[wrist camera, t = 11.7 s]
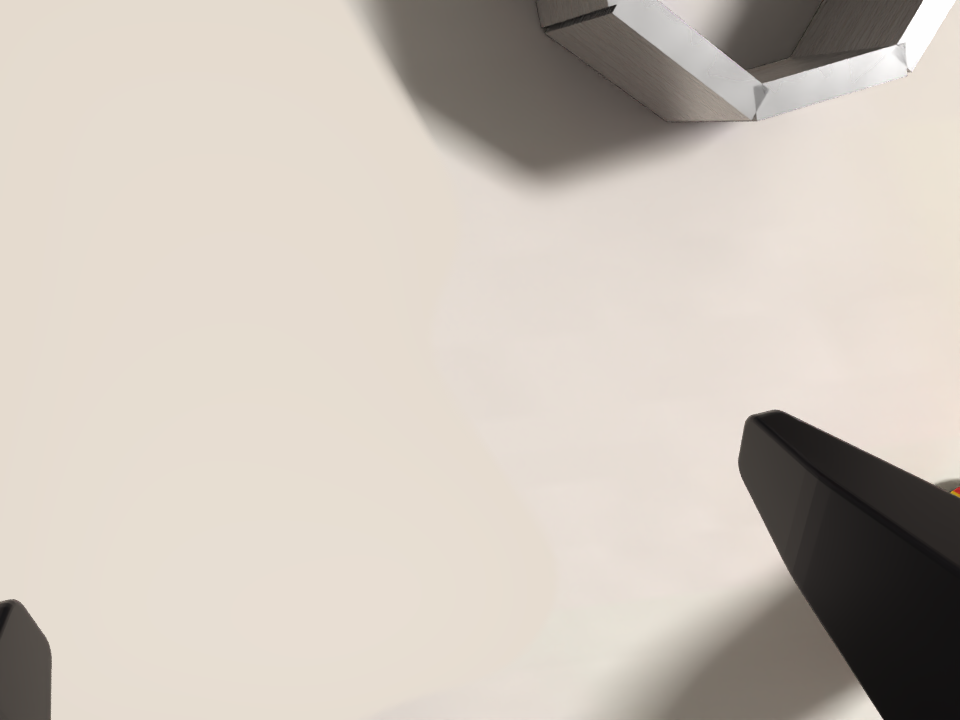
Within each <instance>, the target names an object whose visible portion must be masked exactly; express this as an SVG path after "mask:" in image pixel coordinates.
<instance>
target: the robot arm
mask: <svg viewBox="0 0 960 720" xmlns="http://www.w3.org/2000/svg"><path fill="white" fill-rule="evenodd" d="M738 465H739V471H740V474H741V477H742V479H743V481H744V483H745V485H746V487H747V489H748V491H749V493H750V495H751V497H752V499H753V501H754V503H755V505H756V507H757V509H758V511H759V513H760V515H761V517H762V519H763V521H764V523H765V525H766V527H767V529H768V531H769V533H770V535H771V537H772V539H773V541H774V543H775V545H776V547H777V549H778V551H779V553H780V555H781V557H782V559H783V561H784V563H785V565H786V567H787V569H788V571H789V572H790V574H791V576H792V578H793V579H794V581H795V583H796V584H797V586H798V588H799V589H800V591H801V592H802V594H803V596H804V597H805V599H806V600H807V602H808V603H809V605H810V606H811V608H812V610H813V611H814V613H815V614H816V616H817V617H818V619H819V620H820V622H821V624H822V625H823V627H824V628H825V630H826V631H827V633H828V634H829V636H830V638H831V639H832V641H833V642H834V644H835V645H836V647H837V648H838V650H839V652H840V653H841V655H842V656H843V658H844V659H845V661H846V662H847V664H848V666H849V667H850V669H851V670H852V672H853V673H854V675H855V676H856V678H857V679H858V681H859V683H860V684H861V686H862V687H863V689H864V690H865V692H866V693H867V695H868V697H869V698H870V700H871V701H872V703H873V704H874V706H875V707H876V709H877V711H878V712H879V714H880V715H881V717H882V718H883V720H960V497H958V496H956V495H954V494H952V493H950V492H947V491H945V490H943V489H941V488H939V487H937V486H935V485H933V484H931V483H929V482H927V481H925V480H923V479H921V478H919V477H917V476H915V475H913V474H911V473H909V472H906V471H904V470H902V469H900V468H898V467H896V466H894V465H892V464H890V463H888V462H886V461H884V460H882V459H880V458H878V457H876V456H874V455H872V454H870V453H868V452H865V451H863V450H861V449H859V448H857V447H855V446H853V445H851V444H849V443H847V442H845V441H843V440H841V439H839V438H837V437H835V436H833V435H831V434H829V433H827V432H824V431H822V430H820V429H818V428H816V427H814V426H812V425H810V424H808V423H806V422H804V421H802V420H800V419H798V418H796V417H794V416H792V415H790V414H788V413H786V412H783V411H780V410H770V411H766V412H762V413H758V414H754V415H751V416H749V417H748V419H747V420H746V421H745V425H744V430H743V436H742V441H741V447H740V453H739V458H738ZM51 659H52V657H51V650H50V646H49V643H48V641H47V639H46V637H45V635H44V634H43V633H42V631H41V630H40V628H39V627H38V626H37V624H36V623H35V621H34V620H33V618H32V617H31V616H30V614H29V613H28V611H27V610H26V608H25V607H24V606H23V605H22V604H21V602H19V601H17V600H14V599H13V600H5V601H2V602H0V720H51V669H52V663H51V662H52V660H51Z"/></svg>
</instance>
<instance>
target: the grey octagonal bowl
mask: <svg viewBox="0 0 960 720" xmlns="http://www.w3.org/2000/svg"><path fill="white" fill-rule="evenodd" d="M954 2H955V0H823V2H822V4H821V6H820V7H819V9H818V11H817V12H816V14H815V16H814V18H813V19H812V21H811V23H810V24H809V26H808V28H807V30H806V31H805V33H804V35H803V36H802V38H801V40H800V42H799V43H798V45H797V47H796V48H795V50H794V52H793V54H792V55H791V57H790V58H787V59H783V60H780V61H776V62H773V63H769V64H766V65H762V66H759V67H755V68H752V69H748V70H744V69H743V68H742V67H741V66H739V65H738V64H737V63H736V62H734V61H733V60H732V59H731V58H729V57H728V56H727V55H726V54H724V53H723V52H722V51H721V50H719V49H718V48H717V47H716V46H714V45H713V44H712V43H711V42H709V41H708V40H707V39H706V38H704V37H703V36H702V35H701V34H699V33H698V32H697V31H696V30H694V29H693V28H692V27H691V26H689V25H688V24H687V23H686V22H684V21H683V20H682V19H681V18H679V17H678V16H677V15H676V14H674V13H673V12H672V11H671V10H669V9H668V8H667V7H666V6H664V5H663V4H662V3H661V2H659V1H658V0H536V4H537V9H538V14H539V19H540V24H541V28H543V27H547V26H548V28H547V30H546V32H545V34H546V35H548V36H549V37H550V38H552V39H553V40H555V41H556V42H557V43H559V44H560V45H562V46H563V47H564V48H566V49H567V50H568V51H570V52H571V53H573V54H574V55H575V56H577V57H578V58H579V59H581V60H582V61H584V62H585V63H586V64H588V65H589V66H590V67H592V68H593V69H595V70H596V71H597V72H599V73H600V74H602V75H603V76H604V77H606V78H607V79H608V80H610V81H611V82H613V83H614V84H615V85H617V86H618V87H619V88H621V89H622V90H624V91H625V92H626V93H628V94H629V95H630V96H632V97H633V98H635V99H636V100H637V101H639V102H640V103H642V104H643V105H644V106H646V107H647V108H648V109H650V110H651V111H653V112H654V113H655V114H657V115H658V116H659V117H661V118H662V119H664V120H665V121H671V122H729V121H760V120H763V119H766V118H770V117H773V116H776V115H780V114H783V113H786V112H790V111H793V110H796V109H800V108H803V107H806V106H810V105H813V104H816V103H820V102H823V101H826V100H829V99H833V98H836V97H839V96H843V95H846V94H849V93H853V92H856V91H859V90H863V89H866V88H869V87H873V86H876V85H879V84H883V83H886V82H889V81H893V80H896V79H899V78H903V77H906V76H907V72H912V71H913V70H914V68H915V66H916V65H917V63H918V61H919V60H920V58H921V56H922V55H923V53H924V51H925V50H926V48H927V46H928V45H929V43H930V41H931V40H932V38H933V36H934V35H935V33H936V31H937V30H938V28H939V26H940V25H941V23H942V21H943V20H944V18H945V16H946V15H947V13H948V11H949V10H950V8H951V7H952V5H953V3H954Z"/></svg>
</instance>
